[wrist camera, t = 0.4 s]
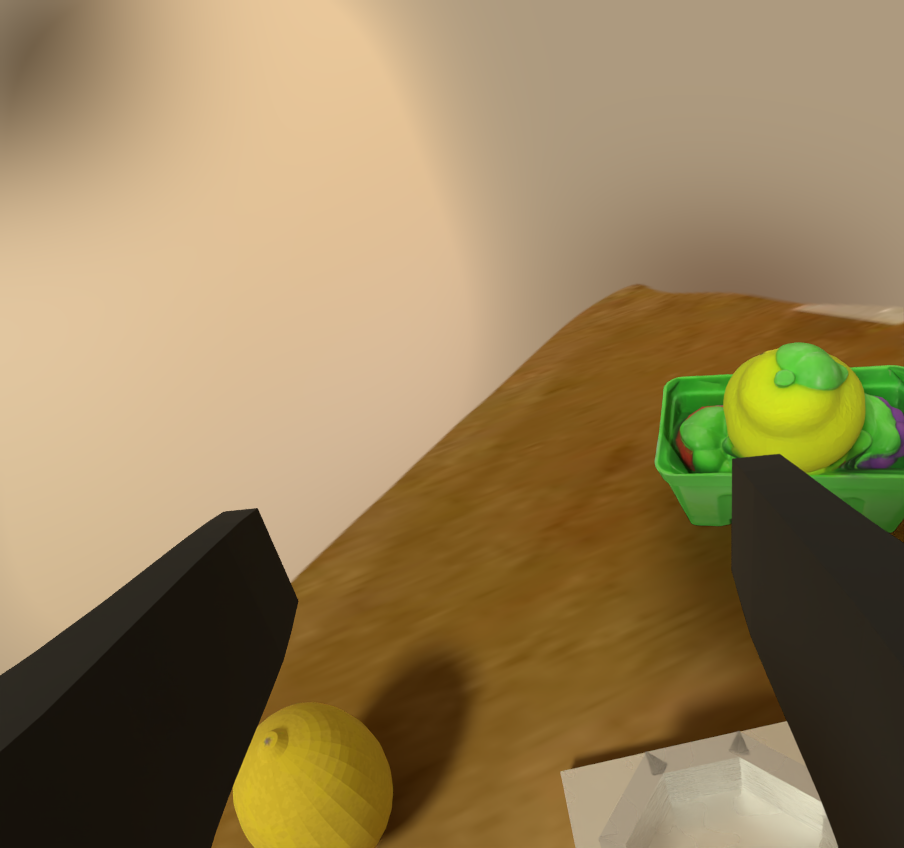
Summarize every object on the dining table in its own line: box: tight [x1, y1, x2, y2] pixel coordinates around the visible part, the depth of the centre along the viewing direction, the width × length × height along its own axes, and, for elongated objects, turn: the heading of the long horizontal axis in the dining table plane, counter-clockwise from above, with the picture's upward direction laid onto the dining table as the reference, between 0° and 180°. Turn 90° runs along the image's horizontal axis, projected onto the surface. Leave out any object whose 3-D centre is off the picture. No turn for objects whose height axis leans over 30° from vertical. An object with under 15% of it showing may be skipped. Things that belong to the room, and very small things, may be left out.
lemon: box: [233, 702, 393, 848], centre depth 25 cm, size 6×6×8 cm
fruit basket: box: [655, 343, 904, 533], centre depth 29 cm, size 11×9×11 cm
